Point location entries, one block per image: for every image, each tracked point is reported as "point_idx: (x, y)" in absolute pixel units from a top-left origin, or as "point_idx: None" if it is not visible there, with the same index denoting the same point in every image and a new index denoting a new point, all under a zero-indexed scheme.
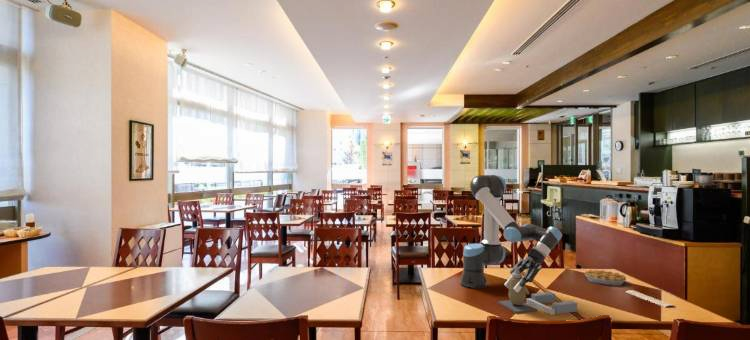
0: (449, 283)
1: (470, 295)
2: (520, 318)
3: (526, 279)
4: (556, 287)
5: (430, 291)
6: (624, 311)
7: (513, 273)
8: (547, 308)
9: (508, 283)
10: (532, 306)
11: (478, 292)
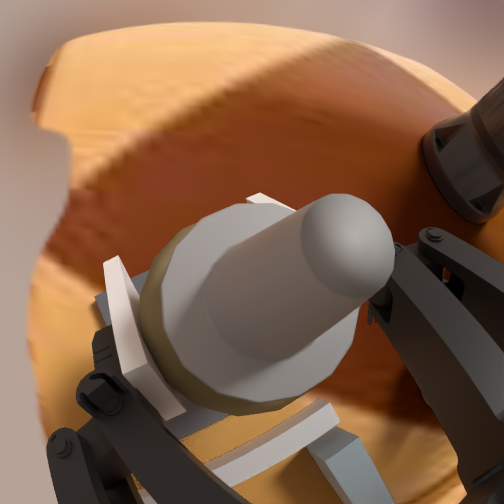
0: (429, 103)
1: (337, 124)
2: (38, 305)
3: (91, 429)
4: None
5: (322, 34)
6: None
7: (263, 224)
8: None
9: None
10: (211, 423)
11: (391, 166)
